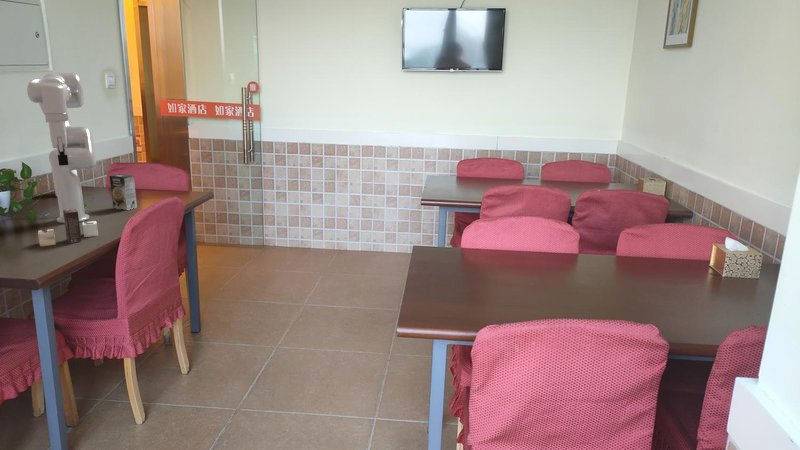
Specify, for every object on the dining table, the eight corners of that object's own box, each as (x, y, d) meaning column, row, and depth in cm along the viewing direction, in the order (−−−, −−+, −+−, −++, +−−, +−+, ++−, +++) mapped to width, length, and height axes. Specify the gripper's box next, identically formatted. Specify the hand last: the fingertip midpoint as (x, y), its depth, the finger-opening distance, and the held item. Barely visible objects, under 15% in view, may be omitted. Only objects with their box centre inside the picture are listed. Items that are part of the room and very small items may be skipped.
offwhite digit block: (84, 234, 234) (82, 221, 233) (97, 232, 237) (96, 220, 235) (84, 237, 230) (82, 224, 229) (98, 235, 233) (96, 223, 231)
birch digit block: (40, 243, 222) (38, 229, 221) (55, 241, 225) (53, 228, 223) (40, 246, 218) (37, 233, 217) (55, 244, 220) (53, 231, 219)
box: (82, 241, 225) (78, 211, 222) (69, 243, 222) (64, 213, 219) (79, 237, 229) (74, 208, 226) (66, 239, 226) (61, 210, 223)
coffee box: (112, 208, 276) (108, 175, 272) (123, 206, 282) (119, 173, 277) (127, 210, 273) (123, 177, 268) (137, 207, 278) (134, 174, 274)
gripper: (45, 115, 225) (53, 162, 230) (44, 120, 212) (52, 169, 218) (67, 115, 228) (74, 161, 234) (68, 119, 216) (75, 167, 221)
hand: (63, 164), depth 226 cm, fingers closed
